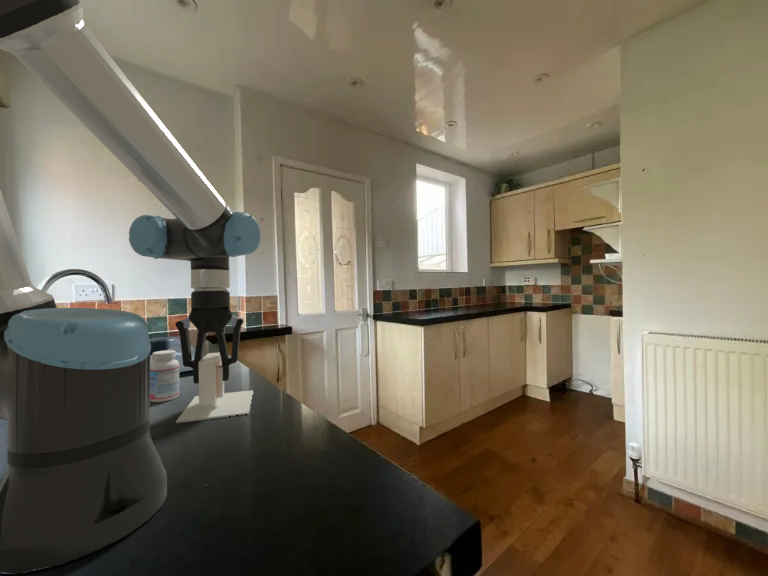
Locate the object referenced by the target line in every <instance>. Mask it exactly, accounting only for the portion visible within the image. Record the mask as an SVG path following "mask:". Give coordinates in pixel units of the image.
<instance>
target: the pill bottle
mask: <svg viewBox="0 0 768 576" xmlns="http://www.w3.org/2000/svg"><path fill="white" fill-rule="evenodd" d="M151 355H152V357H151V358H152V360H153V362H150V402H151V403H163V402H167V401H172V400H175V399H177V398H178V397H179V395H180V362H179V361H178V360H177V359H175V358H176V355H177V353H176V350H172V349H169V350H168V349H167V350H166V349H165V350H159V351H154V352H152V354H151Z"/></svg>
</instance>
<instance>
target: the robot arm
mask: <svg viewBox="0 0 768 576" xmlns="http://www.w3.org/2000/svg"><path fill="white" fill-rule="evenodd" d="M0 50H2V51H5V52H7V53H11V54H12V55H13V56H14V57H16V59H18V60H19V61H20V62H21V63H22V64H23V65H24V66H25V67H26V68H27V69H28V71H30V72H31V73H32V74H33V75H34V76H35V77H36V78H37V79H38V80H39V81H40V82H41V83H42V84H43V85H44V86H45V87H46V88H47V89H48V90H49V92H50V93H52V94H53V95H54V96H55V97H56V98H57V99H58V101H60V103H62V104H63V105H64V106H65V107H66V108H67V109H68V110H69V111H70V112H71V114H73V115H74V116H75V117H76V118H77V119H78V120H79V122H81V124H82V125H83V126H85V127H86V128H87V130H89V131H90V133H92V135H94V137H96V138H97V140H98V141H99V142H101V144H102V145H104V147H105V148H106V149H108V151H109V152H111V154H112V155H114V157H115V158H117V160H118V161H119V162H120V163H121V164H122V165H123V166H124V167H125V168H126V169H127V170H129V172H130V173H132V175H133V176H134V177H135V178H136V179H137V180H138V181H139V182H140V183H141V184H142V185H143V186H144V187H145V188H146V189H147V190H148V191H149V192H150V193H151V194H152V195H153V196H154V197H155V198H156V199H157V200H158V201H159V202H160V203H161V204H162V205H163V206H164V208H166V209H167V210H168V211H169V212H170V213H171V214H172V215H173V216H174V217H175V218H165V217H162V216H161V215H151V214H143V215H140V216H138V217H136V218H135V219H134V220H133V221H132V222H131V225H130V227H129V231H128V236H129V237H128V241H129V242H128V243H129V245H130V247H131V248H132V250H133V251H134V252H135V254H138V255H139V256H142V257H147V258H152V259H155V260H157V259H164V260H175V261H176V260H177V261H187V262H190V288H191V289H193V290H194V291H192V292H191V293H190V303H191V304H190V305H191V306H190V308H191V310H190V313H189V314H188V317H186V318H184V319H181V320H178V321H176V322H175V327H176V328H177V330H178V332H179V339H180V348H181V357H182V365H183V366H184V367H185V368H186V367H187V368H191V369H192V373H193V375H192V376H193V381H192V382H193V383H194V384H199V361H200V360H201V359H202V358H204V357H203V356H204V352H205V351H204V350H205V344H206V338H207V334H208V333H215V337H216V338H217V345H218V349H219V352H220V356H221V362H222V365H220V366H219V368H218V375H219V398H221V397H223V395H224V393H225V382H226V381H229V379H230V365H232V364H235V363H237V361H238V360H239V352H240V351H239V350H240V338H241V329H242V326H243V324H244V321H245V320H244V319H245V318H244V317H243V318H242V317H237V316H235V315H233V312H232V310H231V294H230V293H231V292H230V291H229V290H228V289H229V288H230V287H231V286H230V285H231V284H230V282H231V281H230V280H231V279H230V258H231V257H232V258H233V257H234V258H235V257H240V256H248V255H251V254H253V253H254V252H256V251H257V250H258V248H259V246H260V243H261V240H262V238H261V237H262V235H261V229H260V225H259V223H258V221H257V219H256V218H255V217H254V215H251V214H249V213H248V212H245V211H244V212H241V211H235V212H234V211H233V210H232V209H231V208H230V207H229V205H228V204H227V203H226V202H225V200H224V199H223V197H221V195H220V194H219V193H218V191H217V190H216V189H215V187H214V186H213V185H212V183H210V181H209V180H208V179H207V177H206V176H205V175H204V173H203V172H202V170H200V169H199V167H198V165H196V163H195V162H194V161H193V160H192V158H191V157H190V156H189V155H188V153H187V152H186V151H185V149H184V148H183V147H182V145H181V144H180V143H179V142H178V140H177V139H176V138H175V137H174V135H173V134H172V132H170V130H169V129H168V128H167V127H166V125H165V124H164V122H162V120H161V119H160V118H159V117H158V115H157V114H156V112H155V111H154V110H153V108H152V107H151V106H150V105H149V104H148V102H147V101H146V100H145V98H144V97H143V96H142V94H140V93H139V91H138V90H137V89H136V87H135V86H134V85H133V83H132V82H131V80H129V78H128V77H127V75H126V74H125V73H124V72H123V71H122V70H121V68H120V67H119V66H118V64H117V63H116V62H115V61H114V59H113V58H112V57H111V56H110V54H109V53H108V52H107V51H106V49H105V48H104V47H103V45H102V44H101V43H100V42H99V40H98V39H97V38H96V36H95V35H94V34H93V33H92V31H91V30H90V29H89V28H88V26H87V25H86V23H85V21H84V5H83V3H82V2H80V0H0ZM3 196H4V195H3V192H2V190H1V188H0V419H1V420H6V425H7V426H6V427H7V428H6V431H7V433H6V440H7V442H6V443H7V444H6V446H7V453H6V454H7V455H6V456H7V459H6V461H7V462H6V463H7V464H6V472H5V475H4V476H3V479H2V481H1V483H0V572H7V573H13V575H21V574H20V573H23V572H26V571H31V570H33V569H39V568H44V567H49V566H50V567H51V566H54V565H57V564H60V563H64V562H67V561H71V560H73V559H75V558H77V557H81V556H84V555H87V554H89V553H91V552H93V553H95V552H94V551H96V552H97V550H98V551H100V550H102V549H103V548H102V547H104V546H106V547H108V546H110V545H112V544H113V542H114V543H116V542H117V540H118V541H120V540H121V539H123V538H125V537H126V536H128V535H130V534H131V533H132V532H134V531H135V530H137V529H138V528H139V527H141V526H142V525H143V524H145V523H147V521H148V520H150V519H151V518H152V517H153V516H154V515H155V514H156V513H157V512H158V510H159V509H160V508H161V507H162V506H163V504H164V503H165V501H166V498H167V495H168V481H167V480H168V476H167V471H166V469H165V466H164V464H163V461H162V460H161V457H160V455H159V453H158V451H157V448H156V445H155V443H154V441H153V439H152V437H151V434H150V402H151V401H150V364H151V350H152V343H151V341H150V334H149V327H148V323H147V321H146V320H145V318H144V317H142V316H141V315H139V314H137V313H135V312H130V311H127V310H119V309H111V308H110V309H109V308H92V307H57V305H56V301H55V297H54V296H53V295H52V294H51V293H48V292H46V291H44V290H42V289H40V288H37V287H35V286H34V284H33V283H32V281H31V278H30V275H29V271H28V269H27V266H26V264H25V260H24V257H23V253H22V251H21V248H20V245H19V241H18V239H17V235H16V232H15V230H14V226H13V224H12V220H11V218H10V214H9V212H8V211H9V210H8V208H7V206H6V202H5V198H4V197H3ZM230 321H231V325H232V327H234V328H233V330H232V332H233V334H232V342H231V343H232V345H231V355H230V357H229V351H228V346H227V340H226V335H225V333H226V332H225V328H226V326H227V325H228V324H229V323H230ZM190 323H191V324H192V325H193V326H194V327H195V328H196V329H197V336H196V346H195V350H194V357H193V355H192V348H191V347H192V346H191V338H190V336H191V335H190V330H189V328H190V327H191V324H190ZM111 543H112V544H111ZM109 544H110V545H109ZM107 545H108V546H107ZM101 548H102V549H101ZM104 548H105V547H104ZM99 549H100V550H99ZM91 554H92V553H91ZM89 555H90V554H89ZM87 556H88V555H87ZM84 557H85V556H84ZM71 562H72V561H71ZM17 573H18V574H17ZM23 574H24V573H23Z"/></svg>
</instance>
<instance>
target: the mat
mask: <svg viewBox="0 0 768 576" xmlns="http://www.w3.org/2000/svg"><path fill="white" fill-rule="evenodd" d="M253 391H254V389H253V390H243V391H233V392H224V395H223V397H221V398H219V399H218V401H217V403H216V404H215V405H206V406H199V395H195V396H194V397H193V399H192V400H191V401H190V403H189V404H188V405H187V407H186V408H185V409H184V410H183V412H182V413H181V414H180V415H179V416H178V418H177V420H176V421H175V423H176V424H182V423H189V422H196V421H206V420H212V419H213V420H214V419H221V418H229V416H231V417H237V416H236V415H239V416H246V415H245V414H247V415H250V410H251V406H250V405H252V401H251V400H253V397H252V395H254V392H253Z"/></svg>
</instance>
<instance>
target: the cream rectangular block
mask: <svg viewBox="0 0 768 576" xmlns="http://www.w3.org/2000/svg"><path fill="white" fill-rule="evenodd" d="M220 365H222V362H221V356H220V351H219V352H208V353H207V354H205V356H204V357H203V358H202V359H201V360H200V361H199V383H198V396H199V406H206V405H215V404H216V403H217V401H218V399H219V375H218V368H219V366H220Z"/></svg>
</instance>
